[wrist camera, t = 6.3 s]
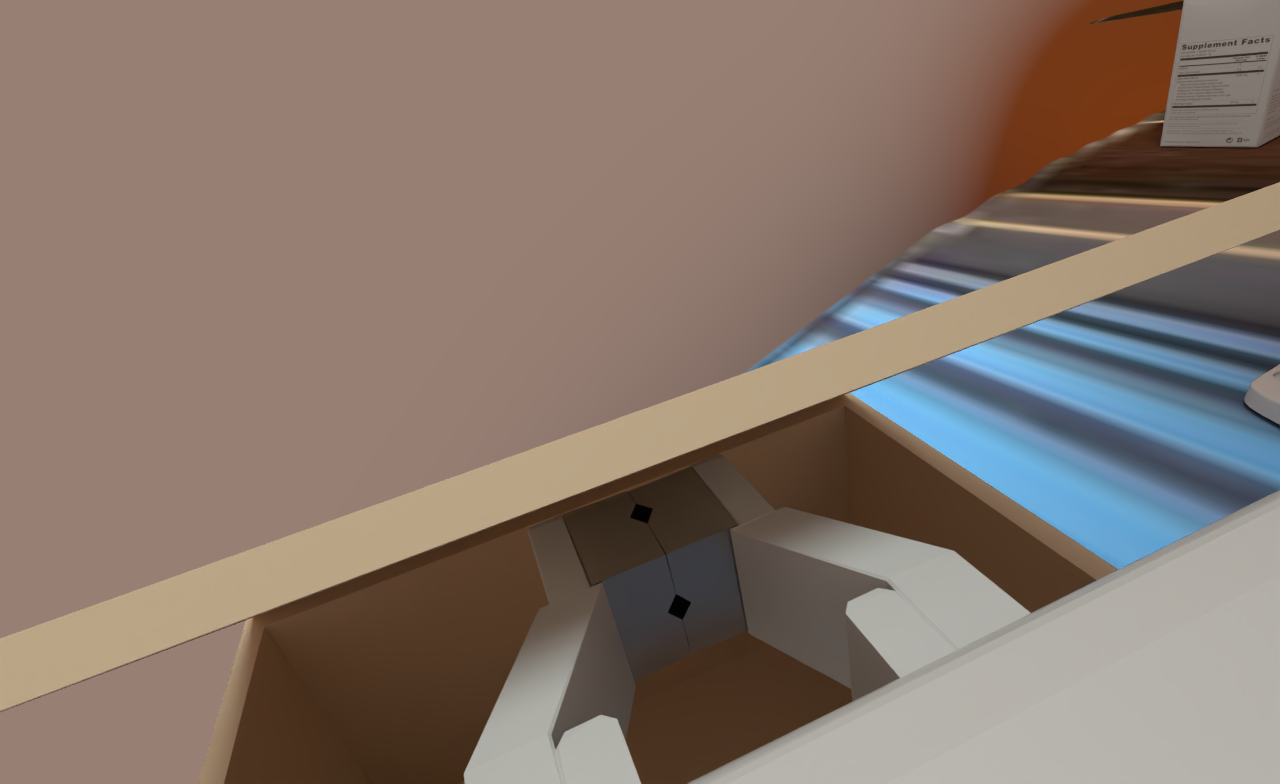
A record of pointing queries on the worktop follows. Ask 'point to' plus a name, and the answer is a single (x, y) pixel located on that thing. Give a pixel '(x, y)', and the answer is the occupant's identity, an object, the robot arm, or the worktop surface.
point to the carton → (513, 593)
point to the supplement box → (1225, 75)
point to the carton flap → (594, 457)
